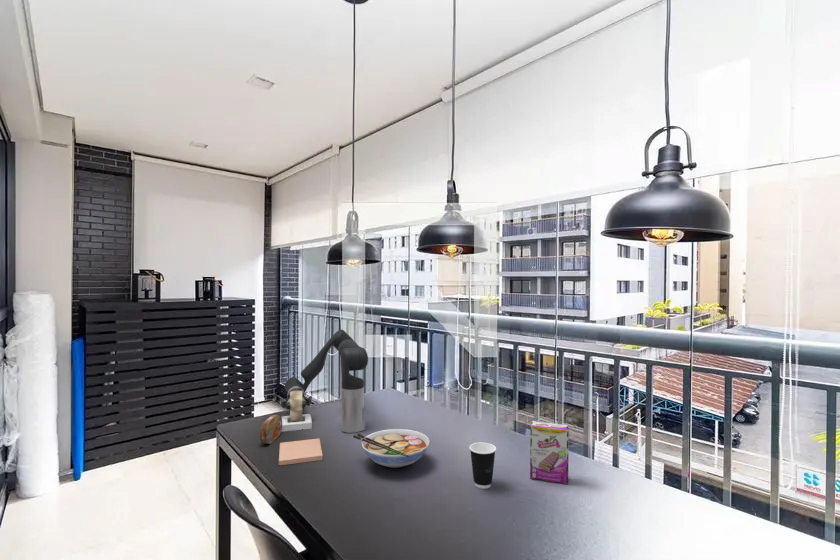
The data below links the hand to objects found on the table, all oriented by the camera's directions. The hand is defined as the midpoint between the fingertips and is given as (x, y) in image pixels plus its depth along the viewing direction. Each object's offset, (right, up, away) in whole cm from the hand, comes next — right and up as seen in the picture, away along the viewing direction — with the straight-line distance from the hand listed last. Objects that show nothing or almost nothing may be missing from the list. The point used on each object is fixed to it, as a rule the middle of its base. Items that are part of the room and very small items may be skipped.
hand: (296, 406), depth 169 cm
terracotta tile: (+9, -8, -26) cm, 29 cm away
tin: (-6, -9, -13) cm, 17 cm away
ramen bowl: (+43, -8, -34) cm, 56 cm away
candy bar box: (+91, -8, -45) cm, 102 cm away
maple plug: (-1, -9, +2) cm, 9 cm away
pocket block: (-1, -9, +2) cm, 9 cm away
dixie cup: (+70, -8, -48) cm, 86 cm away
